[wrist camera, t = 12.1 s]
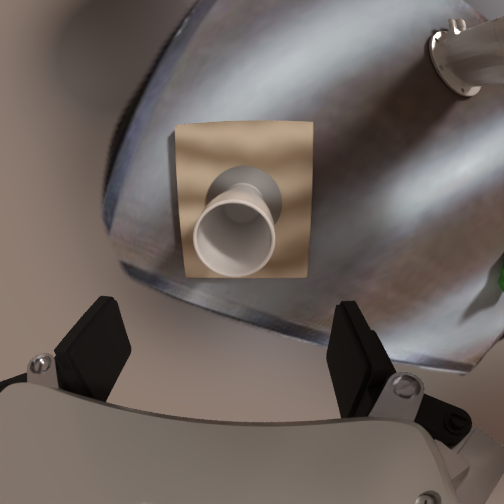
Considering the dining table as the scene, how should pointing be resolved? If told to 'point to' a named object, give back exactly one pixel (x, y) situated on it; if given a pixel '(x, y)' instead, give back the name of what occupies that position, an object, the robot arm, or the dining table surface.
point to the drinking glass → (235, 232)
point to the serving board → (252, 172)
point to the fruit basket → (502, 280)
